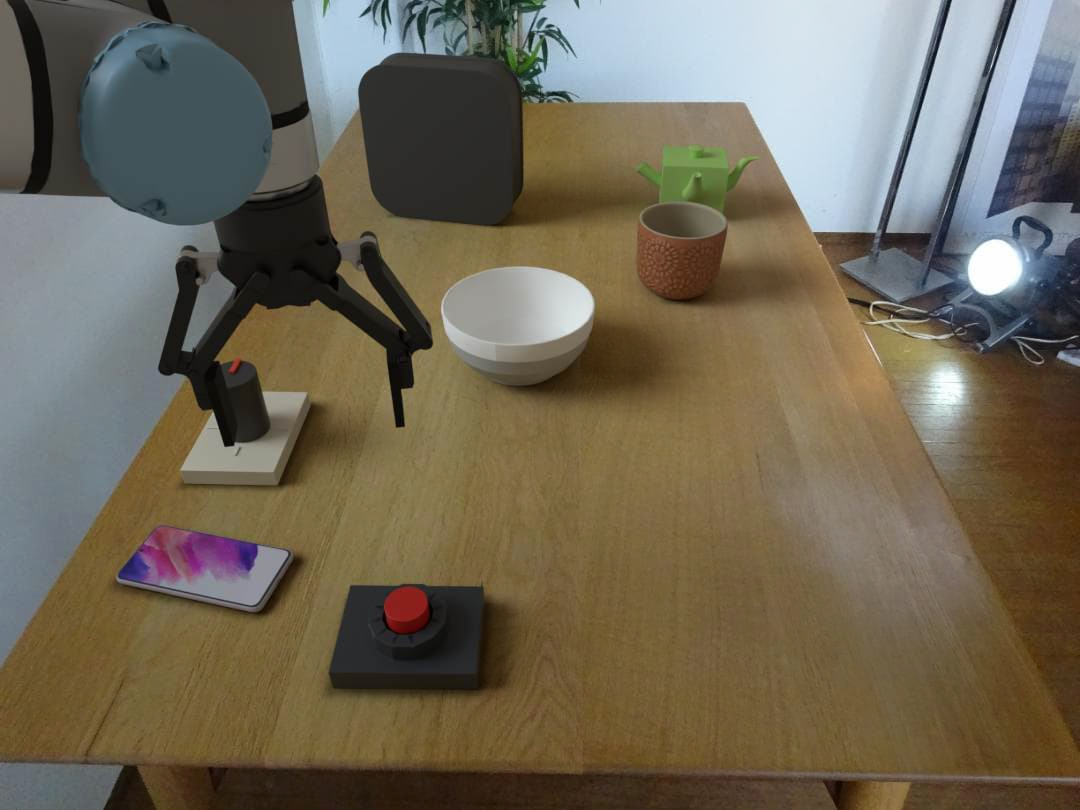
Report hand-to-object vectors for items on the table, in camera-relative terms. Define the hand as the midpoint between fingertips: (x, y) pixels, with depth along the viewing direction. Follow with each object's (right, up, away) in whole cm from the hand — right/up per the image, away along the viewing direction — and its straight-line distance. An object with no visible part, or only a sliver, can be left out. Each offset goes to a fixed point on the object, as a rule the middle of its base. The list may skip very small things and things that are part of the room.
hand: (316, 427), depth 67 cm
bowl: (+16, +7, +37) cm, 41 cm away
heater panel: (-14, -2, +25) cm, 29 cm away
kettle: (+45, +35, +73) cm, 93 cm away
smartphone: (-13, -14, +10) cm, 22 cm away
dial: (-14, -1, +23) cm, 27 cm away
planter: (+38, +19, +52) cm, 68 cm away
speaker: (+3, +36, +74) cm, 82 cm away
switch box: (+7, -19, +3) cm, 21 cm away
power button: (+7, -16, +1) cm, 18 cm away
